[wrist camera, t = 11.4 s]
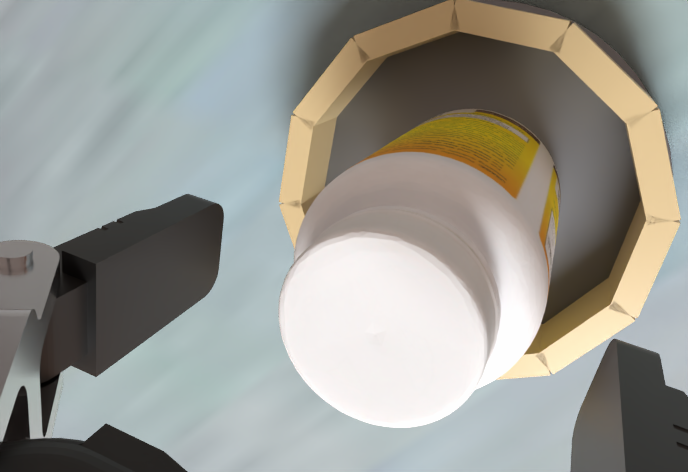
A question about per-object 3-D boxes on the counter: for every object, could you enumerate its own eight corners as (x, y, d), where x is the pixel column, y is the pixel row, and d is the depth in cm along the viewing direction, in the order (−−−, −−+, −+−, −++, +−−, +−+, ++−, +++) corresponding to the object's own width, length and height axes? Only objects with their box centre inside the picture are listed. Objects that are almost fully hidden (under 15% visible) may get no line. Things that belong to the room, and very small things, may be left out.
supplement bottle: (363, 152, 20) (188, 253, 11) (515, 73, 18) (442, 122, 9) (436, 292, 21) (324, 489, 12) (591, 235, 19) (596, 432, 10)
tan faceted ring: (345, -32, 20) (307, -40, 17) (739, 46, 16) (767, 51, 14) (293, 280, 25) (258, 311, 22) (590, 387, 21) (590, 439, 19)
